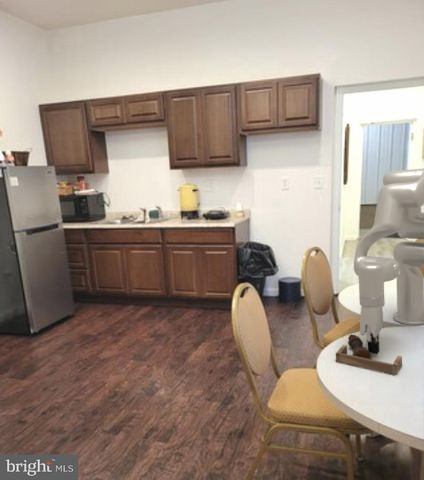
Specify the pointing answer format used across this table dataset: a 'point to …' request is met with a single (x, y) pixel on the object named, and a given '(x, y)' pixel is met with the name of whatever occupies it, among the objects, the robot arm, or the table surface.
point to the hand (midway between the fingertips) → (373, 352)
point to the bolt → (358, 347)
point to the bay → (368, 362)
